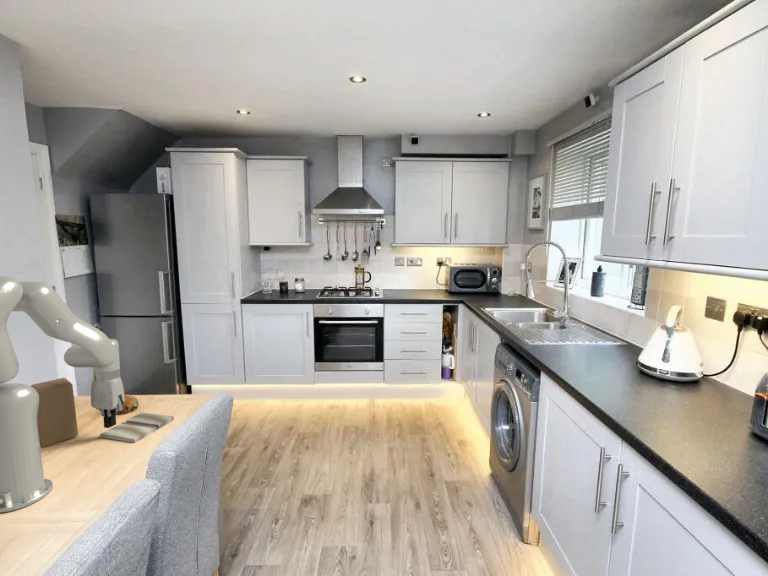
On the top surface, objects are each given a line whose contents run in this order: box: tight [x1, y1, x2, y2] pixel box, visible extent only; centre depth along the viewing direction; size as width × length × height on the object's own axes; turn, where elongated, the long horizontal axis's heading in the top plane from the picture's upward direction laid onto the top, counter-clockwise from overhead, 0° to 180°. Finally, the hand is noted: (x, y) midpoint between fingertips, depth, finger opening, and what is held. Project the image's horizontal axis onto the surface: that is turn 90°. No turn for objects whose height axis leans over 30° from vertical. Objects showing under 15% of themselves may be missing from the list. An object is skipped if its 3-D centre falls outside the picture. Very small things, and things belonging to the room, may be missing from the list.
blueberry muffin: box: [116, 394, 140, 416], centre depth 156 cm, size 10×10×8 cm
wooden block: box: [30, 377, 79, 448], centre depth 132 cm, size 10×10×20 cm
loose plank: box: [99, 421, 157, 443], centre depth 136 cm, size 9×15×1 cm, turn 76°
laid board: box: [125, 411, 175, 431], centre depth 145 cm, size 8×15×2 cm, turn 76°
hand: (110, 426), depth 133 cm, fingers closed
